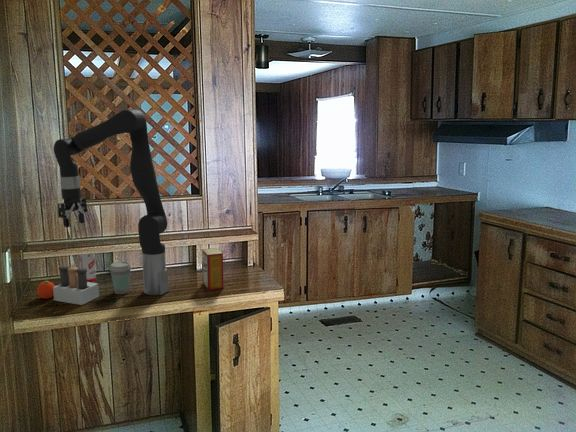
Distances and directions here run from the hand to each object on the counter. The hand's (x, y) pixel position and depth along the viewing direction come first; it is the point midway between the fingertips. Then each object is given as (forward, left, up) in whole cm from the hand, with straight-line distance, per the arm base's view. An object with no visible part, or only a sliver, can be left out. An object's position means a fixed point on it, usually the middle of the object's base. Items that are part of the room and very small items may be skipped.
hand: (74, 225), depth 222 cm
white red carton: (-2, -4, -27) cm, 27 cm away
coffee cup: (-23, +1, -27) cm, 35 cm away
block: (-11, +14, -26) cm, 32 cm away
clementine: (0, +18, -27) cm, 32 cm away
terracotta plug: (-11, +15, -21) cm, 28 cm away
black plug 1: (-7, +15, -21) cm, 27 cm away
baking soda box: (-55, -19, -27) cm, 64 cm away
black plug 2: (-16, +15, -21) cm, 30 cm away
